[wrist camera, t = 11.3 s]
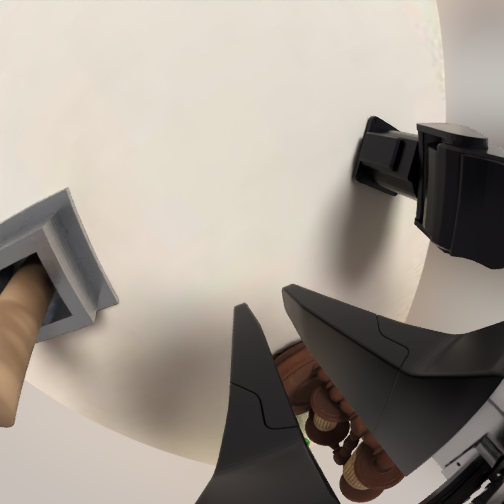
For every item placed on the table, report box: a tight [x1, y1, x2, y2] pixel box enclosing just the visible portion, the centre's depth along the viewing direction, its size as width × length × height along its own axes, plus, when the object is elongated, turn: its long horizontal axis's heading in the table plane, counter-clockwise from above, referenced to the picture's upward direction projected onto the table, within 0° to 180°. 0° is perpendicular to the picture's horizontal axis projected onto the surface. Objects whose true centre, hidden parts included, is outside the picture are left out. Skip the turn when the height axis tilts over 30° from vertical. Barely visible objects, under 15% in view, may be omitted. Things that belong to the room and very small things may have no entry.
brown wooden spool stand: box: [274, 342, 405, 502], centre depth 26 cm, size 15×15×20 cm
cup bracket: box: [0, 187, 118, 343], centre depth 16 cm, size 10×10×4 cm
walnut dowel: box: [0, 252, 56, 428], centre depth 12 cm, size 4×4×13 cm
